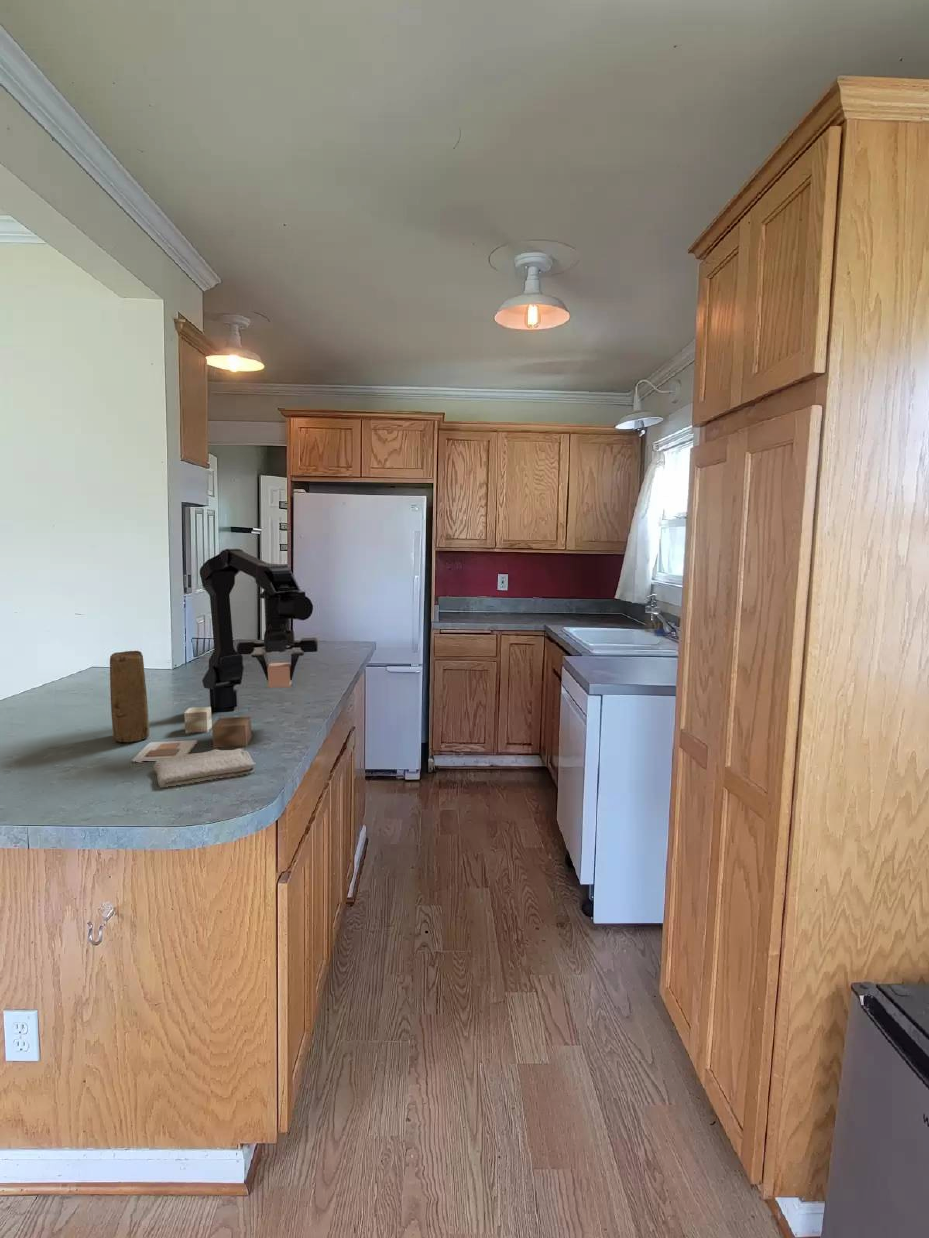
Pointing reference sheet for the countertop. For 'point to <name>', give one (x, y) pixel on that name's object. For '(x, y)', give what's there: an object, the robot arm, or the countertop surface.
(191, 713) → the ash cube
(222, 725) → the walnut block
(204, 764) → the washcloth
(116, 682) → the block
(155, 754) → the card
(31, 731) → the countertop surface
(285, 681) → the terracotta cube
